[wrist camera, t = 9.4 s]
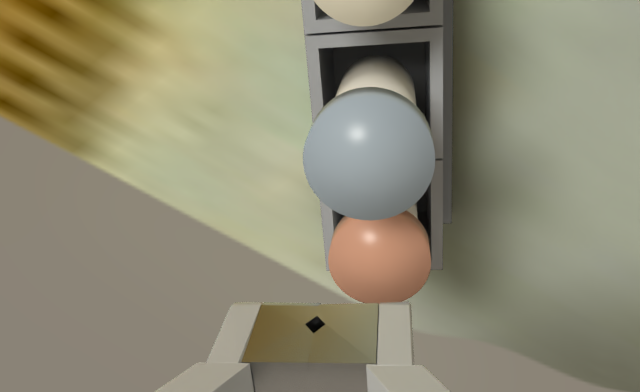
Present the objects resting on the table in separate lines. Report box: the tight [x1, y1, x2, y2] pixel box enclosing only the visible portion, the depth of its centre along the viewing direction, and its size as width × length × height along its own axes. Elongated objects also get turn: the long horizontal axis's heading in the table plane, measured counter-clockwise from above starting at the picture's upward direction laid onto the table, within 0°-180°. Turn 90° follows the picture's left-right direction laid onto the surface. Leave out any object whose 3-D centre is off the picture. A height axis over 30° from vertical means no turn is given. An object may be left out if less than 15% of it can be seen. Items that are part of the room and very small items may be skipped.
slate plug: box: [303, 55, 435, 220], centre depth 21 cm, size 4×4×8 cm
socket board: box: [301, 0, 453, 271], centre depth 27 cm, size 7×17×6 cm, turn 5°
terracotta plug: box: [328, 202, 431, 304], centre depth 27 cm, size 4×4×8 cm
